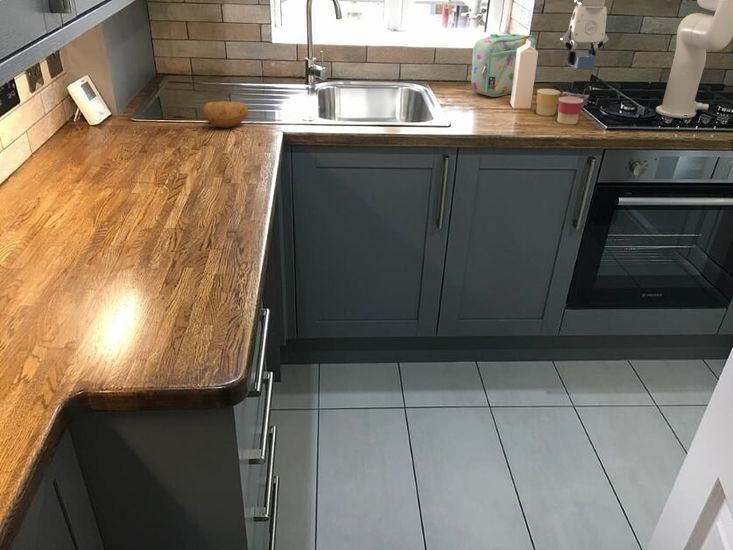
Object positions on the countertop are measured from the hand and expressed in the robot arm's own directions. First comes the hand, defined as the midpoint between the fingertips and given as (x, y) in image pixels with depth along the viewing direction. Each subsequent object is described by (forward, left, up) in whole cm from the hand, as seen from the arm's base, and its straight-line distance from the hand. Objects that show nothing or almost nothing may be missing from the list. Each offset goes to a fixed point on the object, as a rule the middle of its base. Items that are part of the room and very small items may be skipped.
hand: (580, 63), depth 191 cm
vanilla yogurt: (+7, -9, -18) cm, 22 cm away
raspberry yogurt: (+1, 0, -18) cm, 18 cm away
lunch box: (+21, -34, -18) cm, 44 cm away
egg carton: (-3, -21, -18) cm, 28 cm away
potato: (+109, +22, -18) cm, 113 cm away
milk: (+15, -16, -18) cm, 29 cm away
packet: (0, 0, -1) cm, 1 cm away
